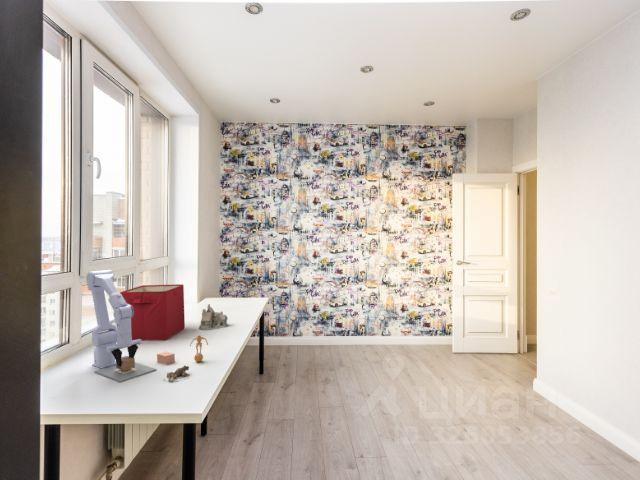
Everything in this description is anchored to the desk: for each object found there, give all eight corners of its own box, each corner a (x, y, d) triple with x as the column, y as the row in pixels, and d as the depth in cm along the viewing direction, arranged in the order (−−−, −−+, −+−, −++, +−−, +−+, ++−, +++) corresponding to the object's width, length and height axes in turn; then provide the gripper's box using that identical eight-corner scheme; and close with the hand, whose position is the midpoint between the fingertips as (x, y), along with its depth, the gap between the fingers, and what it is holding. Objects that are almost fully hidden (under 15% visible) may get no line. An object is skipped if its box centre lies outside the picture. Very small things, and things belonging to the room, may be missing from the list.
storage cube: (166, 341, 214) (164, 290, 213) (118, 342, 214) (117, 291, 214) (187, 327, 246) (186, 283, 246) (145, 328, 246) (144, 284, 246)
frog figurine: (182, 370, 166) (182, 362, 166) (197, 376, 158) (197, 367, 158) (157, 378, 157) (156, 369, 157) (171, 385, 150) (171, 375, 150)
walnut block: (116, 367, 166) (115, 358, 166) (126, 364, 170) (126, 355, 170) (124, 370, 162) (124, 361, 162) (134, 367, 166) (134, 358, 166)
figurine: (188, 363, 174) (187, 337, 174) (191, 359, 180) (190, 334, 180) (207, 362, 175) (206, 336, 175) (209, 358, 181) (208, 333, 181)
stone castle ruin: (195, 329, 239) (196, 306, 239) (209, 324, 255) (210, 302, 255) (217, 332, 235) (218, 308, 235) (230, 327, 251) (231, 304, 251)
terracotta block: (157, 362, 178) (157, 354, 177) (166, 359, 181) (165, 351, 181) (165, 365, 174) (165, 356, 173) (174, 362, 177) (174, 353, 177)
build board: (94, 372, 166) (94, 370, 166) (130, 361, 179) (130, 360, 179) (119, 382, 153) (119, 380, 153) (156, 370, 166) (156, 368, 166)
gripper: (111, 338, 157) (112, 370, 158) (145, 330, 169) (145, 360, 169) (103, 336, 162) (104, 367, 162) (136, 329, 173) (137, 358, 173)
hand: (125, 364), depth 166 cm, fingers closed on walnut block, 5 cm apart
